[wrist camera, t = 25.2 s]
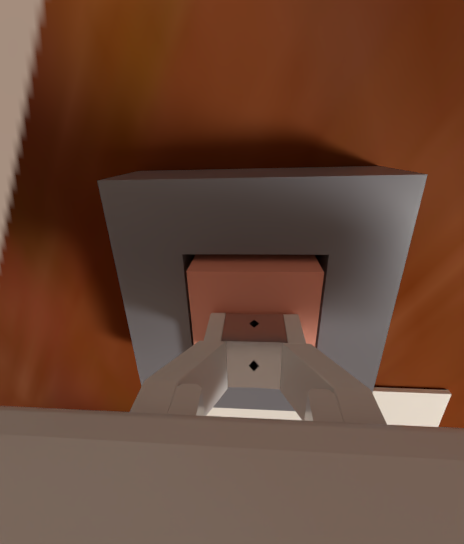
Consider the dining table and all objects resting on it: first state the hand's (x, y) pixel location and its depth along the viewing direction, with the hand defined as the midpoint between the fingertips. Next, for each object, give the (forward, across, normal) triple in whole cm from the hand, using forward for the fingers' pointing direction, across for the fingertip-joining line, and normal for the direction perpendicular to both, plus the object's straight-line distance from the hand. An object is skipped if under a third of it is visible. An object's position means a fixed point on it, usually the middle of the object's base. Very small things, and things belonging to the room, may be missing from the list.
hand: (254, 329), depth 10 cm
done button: (+3, 0, 0) cm, 3 cm away
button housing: (+4, 0, 0) cm, 4 cm away
